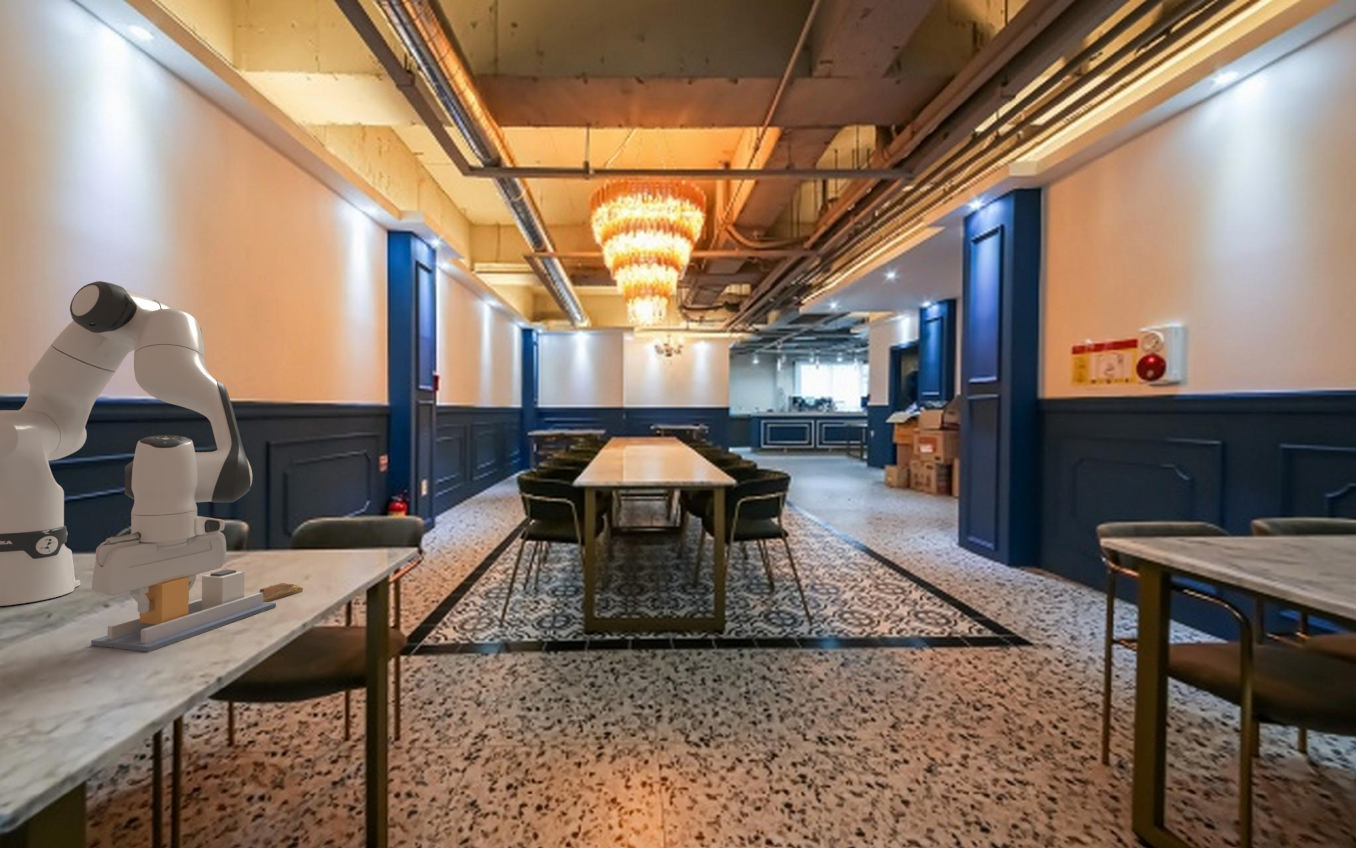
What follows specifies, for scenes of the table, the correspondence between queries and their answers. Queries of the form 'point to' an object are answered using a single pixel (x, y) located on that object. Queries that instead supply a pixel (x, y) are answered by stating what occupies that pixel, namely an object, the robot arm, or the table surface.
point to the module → (167, 601)
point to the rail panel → (190, 615)
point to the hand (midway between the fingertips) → (164, 606)
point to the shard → (279, 591)
